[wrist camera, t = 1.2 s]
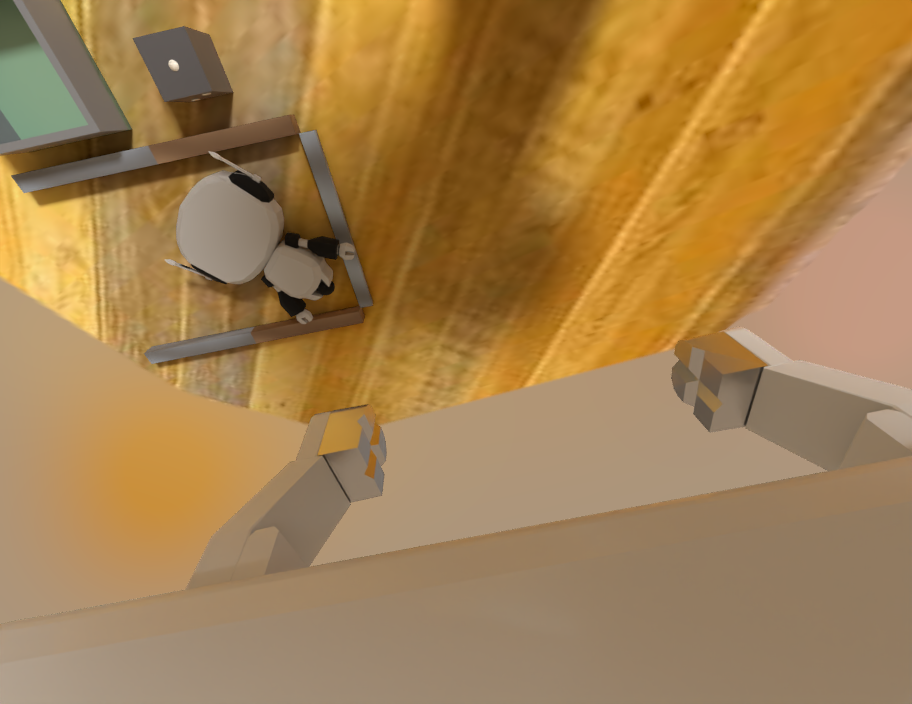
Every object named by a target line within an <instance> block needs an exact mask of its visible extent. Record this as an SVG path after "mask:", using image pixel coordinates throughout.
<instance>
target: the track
mask: <svg viewBox="0 0 912 704" xmlns="http://www.w3.org/2000/svg"><path fill="white" fill-rule="evenodd" d="M295 134H299V136H300V138H301V141H302V144H303V147H304V150H305V153H306V155H307V158H308V161H309V164H310V167H311V170H312V172H313V175H314V178H315V181H316V184H317V187H318V189H319V192H320V195H321V198H322V201H323V204H324V206H325V209H326V212H327V215H328V218H329V221H330V223H331V226H332V229H333V232H334V235H335V238H336V239H338V240H339V244H342V243H346V242H347V243H349V244H351V245H353V246H354V243H353V240H352V237H351V234H350V231H349V228H348V225H347V222H346V219H345V216H344V213H343V210H342V207H341V203H340V200H339V197H338V194H337V191H336V188H335V185H334V182H333V179H332V176H331V173H330V170H329V167H328V164H327V161H326V158H325V155H324V152H323V149H322V146H321V143H320V140H319V137H318V134H317V131H316V130H313V131H309V132H304V133H300V130H299V127H298V124H297V121H296V119H295V116H294V115H286V116H282V117H277V118H273V119H268V120H263V121H259V122H254V123H250V124H245V125H241V126H236V127H231V128H227V129H222V130H218V131H213V132H209V133H204V134H199V135H195V136H190V137H186V138H181V139H177V140H172V141H167V142H163V143H158V144H154V145H149V146H145V147H140V148H135V149H131V150H126V151H122V152H117V153H113V154H108V155H103V156H99V157H94V158H90V159H85V160H81V161H76V162H71V163H67V164H62V165H58V166H53V167H49V168H44V169H39V170H35V171H30V172H26V173H21V174H17V175H12V178H13V179H14V180H15V182H16V183H17V184H18V186H19V187H20V188H21V190H22V191H23V192H24V193H27V192H32V191H36V190H41V189H46V188H50V187H55V186H59V185H64V184H69V183H73V182H78V181H83V180H87V179H92V178H96V177H101V176H106V175H110V174H115V173H119V172H124V171H129V170H133V169H138V168H143V167H147V166H152V165H156V164H161V163H166V162H170V161H175V160H180V159H184V158H189V157H193V156H198V155H203V154H207V153H209V152H208V151H210V152H217V151H221V150H226V149H230V148H235V147H240V146H244V145H249V144H253V143H258V142H263V141H267V140H272V139H277V138H281V137H286V136H290V135H295ZM354 248H355V246H354ZM346 252H349V253H354V258H353V259H352V260H344V259H343V260H344V263H345V266H346V269H347V272H348V275H349V277H350V280H351V283H352V286H353V289H354V292H355V294H356V297H357V300H358V303H359V306H357V307H352V308H347V309H342V310H336V311H331V312H326V313H321V314H316V315H312V316H313V319H312V321H310V322H309V321H308V320H307V319H306V320H307V321H308V322H307V323H306V324H301V323H300V322H299V321H297V318H296V319H291V320H286V321H280V322H275V323H270V324H265V325H260V326H255V327H250V328H245V329H240V330H235V331H230V332H224V333H219V334H214V335H209V336H204V337H199V338H194V339H189V340H184V341H179V342H174V343H168V344H163V345H158V346H153V347H151V348H150V349H149V350H147V351H146V352H145V353H144V354H145V355H146V357H147V358H148V359H149V361H150V362H151V364H153V363H158V362H164V361H169V360H174V359H179V358H184V357H189V356H194V355H200V354H205V353H210V352H215V351H220V350H225V349H230V348H236V347H241V346H246V345H251V344H256V343H261V342H266V341H272V340H277V339H282V338H287V337H292V336H297V335H302V334H308V333H313V332H318V331H323V330H328V329H333V328H338V327H343V326H349V325H354V324H359V323H363V322H364V318H365V316H364V313H363V310H362V307H367V306H373V301H372V298H371V295H370V292H369V288H368V285H367V282H366V279H365V276H364V273H363V270H362V267H361V264H360V261H359V258H358V255H357V252H356V249H355V251H354V252H351V251H346Z"/></svg>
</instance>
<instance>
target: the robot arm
mask: <svg viewBox="0 0 912 704" xmlns="http://www.w3.org/2000/svg"><path fill="white" fill-rule="evenodd" d="M674 354H675V355H676V357H677V358H678V359H679V361H678V362H677V363H676V364H675V365H674V367H673V368H672V377H671V379H672V383H673V387H674V390H675V392H676V393H677V395H678V397H679V398H680V399H681V400H682V401H683V402H684V403H686V404H689V405H692V406H694V413H693V414H694V415H695V416H696V418H697V419H698V420H699V421H700V422H701V423H702V424H703V426H704V427H705V428H706V429H707V430H708V431H709V432H716V431H722V430H727V429H733V428H740V427H746V429H748V430H750V431H752V432H754V433H756V434H758V435H760V436H761V437H763V438H765V439H767V440H769V441H771V442H773V443H775V444H777V445H779V446H781V447H783V448H785V449H787V450H789V451H791V452H792V453H795V454H796V455H798V456H800V457H802V458H804V459H806V460H808V461H810V462H812V463H814V464H816V465H818V466H820V467H822V468H823V469H825V470H827V472H822V473H815V474H810V475H805V476H799V477H794V478H788V479H783V480H778V481H772V482H766V483H761V484H756V485H750V486H745V487H739V488H734V489H729V490H723V491H718V492H712V493H707V494H701V495H696V496H691V497H685V498H680V499H674V500H669V501H664V502H659V503H653V504H648V505H642V506H636V507H631V508H626V509H621V510H615V511H609V512H604V513H598V514H593V515H588V516H582V517H577V518H571V519H566V520H561V521H555V522H550V523H544V524H539V525H534V526H528V527H523V528H517V529H512V530H506V531H501V532H496V533H491V534H485V535H479V536H474V537H468V538H463V539H458V540H452V541H446V542H441V543H436V544H430V545H425V546H419V547H414V548H409V549H403V550H398V551H393V552H387V553H381V554H376V555H371V556H365V557H360V558H354V559H349V560H343V561H339V562H333V563H327V564H322V565H317V566H311V567H309V566H310V565H311V563H312V562H313V560H314V558H315V557H316V556H317V554H318V553H319V551H320V549H321V548H322V547H323V545H324V544H325V542H326V541H327V539H328V537H329V536H330V535H331V533H332V531H333V530H334V529H335V527H336V525H337V524H338V523H339V521H340V520H341V518H342V516H343V515H344V514H345V512H346V511H347V509H348V508H349V506H350V505H351V504H350V503H351V502H355V501H359V500H364V499H369V498H373V497H377V496H382V491H383V482H384V472H383V470H382V468H381V466H382V465H383V464H384V462H385V461H386V441H385V437H384V434H383V431H382V429H381V427H380V426H378V425H377V424H375V423H374V422H375V413H374V411H373V409H372V407H371V406H370V405H368V404H367V405H361V406H356V407H350V408H345V409H339V410H334V411H330V412H324V413H319V414H315V415H314V416H313V417H312V418H311V420H310V423H309V425H308V428H307V431H306V434H305V437H304V439H303V442H302V445H301V448H300V450H299V453H298V456H297V459H296V461H292V462H290V463H289V464H288V465H286V466H285V467H284V468H283V469H282V470H281V471H280V472H279V473H278V474H277V475H276V476H275V477H274V478H273V479H272V480H271V481H270V482H269V483H267V484H266V485H265V486H264V487H263V488H262V489H261V490H260V491H259V492H258V493H257V494H256V495H255V496H254V497H253V498H252V499H251V500H250V501H249V502H247V503H246V504H245V505H244V506H243V507H242V508H241V509H240V510H239V511H238V512H237V513H236V514H235V515H234V516H233V517H232V518H231V519H230V520H229V521H228V522H226V523H225V524H224V525H223V526H222V527H221V528H220V529H219V530H218V531H217V532H216V533H215V534H214V535H213V536H212V537H211V539H210V541H209V542H208V545H207V547H206V549H205V551H204V553H203V555H202V557H201V559H200V561H199V563H198V565H197V567H196V569H195V571H194V573H193V575H192V577H191V579H190V581H189V583H188V585H187V588H186V589H185V590H181V591H176V592H171V593H165V594H160V595H155V596H149V597H143V598H138V599H133V600H127V601H122V602H116V603H111V604H105V605H100V606H95V607H90V608H84V609H78V610H74V611H68V612H62V613H57V614H51V615H45V616H39V617H33V618H26V619H20V620H15V621H11V622H7V623H3V624H0V704H912V389H909V388H905V387H901V386H897V385H894V384H889V383H886V382H882V381H878V380H874V379H871V378H867V377H863V376H859V375H855V374H851V373H848V372H844V371H840V370H836V369H832V368H829V367H824V366H821V365H817V364H813V363H809V362H806V361H802V360H798V361H792V360H791V359H789V358H788V357H786V356H785V355H784V354H782V353H781V352H779V351H778V350H776V349H775V348H774V347H772V346H771V345H769V344H768V343H766V342H765V341H764V340H762V339H761V338H759V337H758V336H756V335H755V334H753V333H752V332H751V331H749V330H748V329H746V328H742V327H737V328H732V329H728V330H723V331H719V332H718V333H712V334H708V335H703V336H698V337H693V338H689V339H684V340H679V341H678V342H677V344H676V346H675V352H674Z"/></svg>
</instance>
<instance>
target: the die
mask: <svg viewBox="0 0 912 704" xmlns="http://www.w3.org/2000/svg"><path fill="white" fill-rule="evenodd" d="M133 40H134V42H135V44H136V46H137V48H138V50H139V52H140V54H141V56H142V58H143V60H144V62H145V64H146V66H147V68H148V70H149V72H150V74H151V76H152V78H153V80H154V82H155V84H156V86H157V88H158V90H159V92H160V94H161V96H162V98H163V100H164V102H193V101H197V100H202V99H206V98H211V97H215V96H220V95H224V94H228V93H233V91H232V88H231V86H230V83H229V81H228V78H227V76H226V74H225V71H224V69H223V66H222V64H221V62H220V59H219V57H218V54H217V52H216V50H215V47H214V45H213V42H212V40H211V37H210V35H209V34H206V33H203V32H200V31H197V30H194V29H191V28H188V27H185V26H183V27H179V28H175V29H171V30H166V31H162V32H158V33H153V34H149V35H145V36H141V37H136V38H133Z"/></svg>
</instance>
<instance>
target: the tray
mask: <svg viewBox="0 0 912 704" xmlns="http://www.w3.org/2000/svg"><path fill="white" fill-rule="evenodd" d="M131 129H132V128H131V126H130V125H129V123H128V121H127V119H126V117H125V116H124V114H123V112H122V110H121V108H120V107H119V105H118V103H117V101H116V99H115V98H114V96H113V94H112V92H111V90H110V89H109V87H108V85H107V83H106V81H105V80H104V78H103V76H102V74H101V72H100V71H99V69H98V67H97V65H96V63H95V62H94V60H93V58H92V56H91V54H90V53H89V51H88V49H87V47H86V46H85V44H84V42H83V40H82V38H81V37H80V35H79V33H78V31H77V29H76V28H75V26H74V24H73V22H72V20H71V19H70V17H69V15H68V13H67V11H66V10H65V8H64V6H63V4H62V2H61V1H60V0H0V155H8V154H17V153H26V152H32V151H36V150H41V149H45V148H50V147H54V146H59V145H63V144H68V143H72V142H77V141H81V140H86V139H90V138H95V137H100V136H104V135H109V134H113V133H118V132H122V131H127V130H131Z"/></svg>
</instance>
